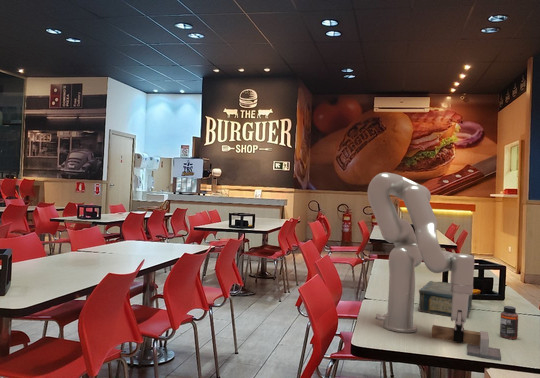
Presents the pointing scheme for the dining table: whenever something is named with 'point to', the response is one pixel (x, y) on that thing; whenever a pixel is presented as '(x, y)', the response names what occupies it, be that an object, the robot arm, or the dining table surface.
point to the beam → (448, 334)
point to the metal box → (438, 299)
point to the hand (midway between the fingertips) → (458, 339)
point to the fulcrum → (483, 348)
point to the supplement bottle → (509, 323)
